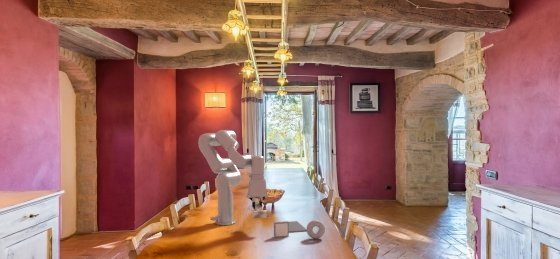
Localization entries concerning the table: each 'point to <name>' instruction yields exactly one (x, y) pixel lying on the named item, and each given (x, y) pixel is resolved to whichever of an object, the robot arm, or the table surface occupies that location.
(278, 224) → the tile
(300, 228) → the mat
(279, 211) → the table surface
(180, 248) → the table surface
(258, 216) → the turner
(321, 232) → the donut
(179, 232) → the table surface
